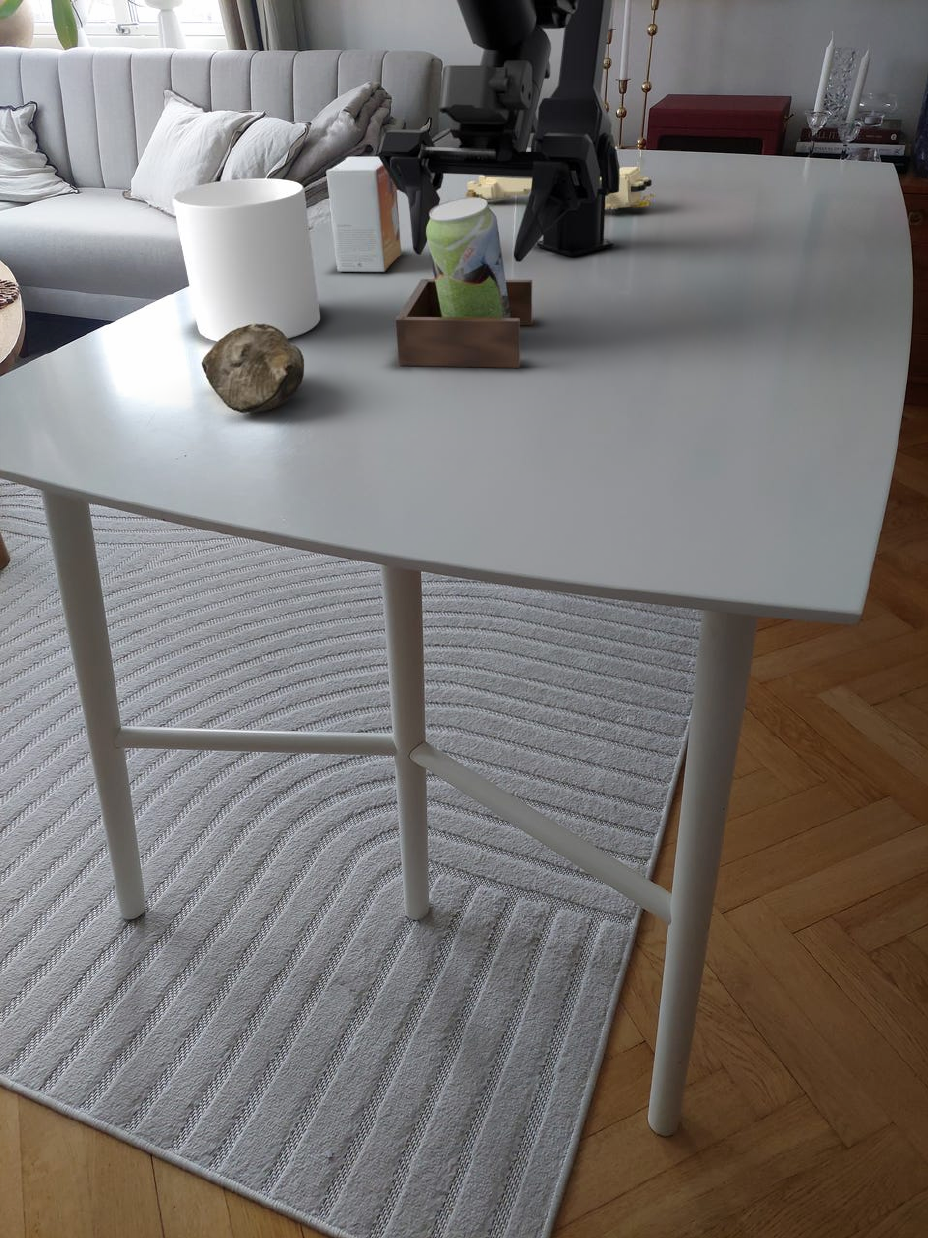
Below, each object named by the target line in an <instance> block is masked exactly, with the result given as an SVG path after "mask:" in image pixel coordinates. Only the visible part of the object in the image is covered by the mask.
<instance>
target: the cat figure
mask: <svg viewBox="0 0 928 1238" xmlns="http://www.w3.org/2000/svg"><path fill="white" fill-rule="evenodd" d="M619 172H620V182H619V192H617V193H610V194H609V195H608V196H606V201H605V210H618V209H619V208H629V207H632V208H644V207H648V206H649V205H650V200H651V199H652V197H655V196H656V193H654V192H653V193H649V195H644V196H642V194H643V191H645V190H647V188H648V187H652V183H653V182H652V179H650V177H649V176H643V175H642V172H643V171H642V170H641V169H639V167H638V166H625V167H624V166H623V167H620V169H619ZM600 180H602V179H601V177H600ZM531 186H532V179H529V178H504V177H485V176H483V175H479V176H478V182H477V180H470V181H468V182H466V187H467V192H466V193H465V195H466V197H465V198H468V197H476V198H482V199H484V200H491V199H492V200H493V199H494V200H495V199H507V198H509V197H511V196H512V197H513V196H515V197H516V196H517V197H519V196H528V195H530V192H531Z"/></svg>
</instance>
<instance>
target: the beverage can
mask: <svg viewBox="0 0 928 1238" xmlns="http://www.w3.org/2000/svg"><path fill="white" fill-rule="evenodd" d="M426 235H427V245H428V250H429V255H430V260H431V266H432V271H433V278H434V279H435V282H436V288H437V293H438V298H439V303H440V309H441V314H442V317H457V318H511V316H510V309H509V302H508V295H507V288H506V281H505V280H506V275H505V267H504V260H503V254H502V252H503V251H502V246H501V239H500V232H499V225H498V219H497V216H496V214H495V213H494V212H493V211H492V209H491V208H490V207H489V203H488V201H487V199H485V198H480V197H478V198H476V197H468V198H467V197H461V198H455V199H451V200H447V201H444V202H442V203H439V205H437V206H436V207H434V208H433V209H432V210H431V211H430V220H429V222H428V225H427V228H426Z"/></svg>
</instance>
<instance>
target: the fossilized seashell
mask: <svg viewBox="0 0 928 1238" xmlns="http://www.w3.org/2000/svg"><path fill="white" fill-rule="evenodd" d="M201 366H202V367H201V368H202V369H203V373H204V374H205V377H206V379H207V382H208V384H209V385H210V386H211V388H212V389H213V391H214V392H215V394H216V395H218V397H219V398H220V399H221V400H222V402H223V403H224V405H226V406H227V407H228V408H229V409H231V410H233V411H234V412H238V413H241V414H248V413H257V412H267V411H269V410H273V409H276V408H278V407H280V406H282V405H283V404H284V403H286V402H287V401H289V400H290V399H291V398H292V397H293V396H294V395H295V393H297V391H298V390H299V387H300V386H301V384H302V383H303V379H304V377H305V376H304V375H305V358H304V355H303V353H302V351H301V350H300V349H299V347H298V346H296V345H293V344H292V343H290V341H289V339H287V337H286V336H285V335H284V333H283V332H282V331H280V330H279V329H277V328H275V327H273V326H271V325H267V324H250V325H247V326H244V327H241V328H237V329H235V330H233V331H231V332H230V333H228V334H227V335H225V336H224V337H223V338H222V339H220V340H219V341H218V342H215V344H214V345H213V346H212V347H211V349H210V350H209V351H208V352H207V353H206V354H205V355H204V357H203V358H202V361H201Z"/></svg>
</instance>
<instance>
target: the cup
mask: <svg viewBox="0 0 928 1238" xmlns="http://www.w3.org/2000/svg"><path fill="white" fill-rule="evenodd" d="M172 204H173V209H174V210H173V211H174V214H175V221H176V226H177V229H178V230H177V231H178V235H179V240H180V244H181V250H182V255H183V259H184V265H185V270H186V275H187V280H188V285H189V290H190V294H191V301H192V305H193V310H194V314H195V315H194V316H195V320H196V323H197V329H198V332H199V333H200V335H201V336H203V337H204V338H206V339H208V340H210V341H213V342H215V343H217V342H218V341H219V340H220V339H222V338H223V337H224V336H225V335H227V334H228V333H230V332H231V331H233V330H235V329H237V328H241V327H244V326H247V325H250V324H267V325H271V326H273V327H275V328H277V329H279V330H280V331H282V332H283V333H284V335H285V336H286V337H287V339H288V340H289V339H293V338H295V337H298V336H302V335H303V334H305V333H307V332H310V331H311V330H313V329H314V328H315V327H316V326H317V325H318V324H319V323H320V320H321V314H320V312H321V311H320V304H319V297H318V289H317V288H318V287H317V281H316V272H315V264H314V256H313V249H312V248H313V247H312V241H311V240H312V239H311V232H310V225H309V224H310V223H309V216H308V208H307V201H306V193H305V187H304V186H303V184H301V183H299V182H296V181H293V180H288V179H283V178H282V179H281V178H260V177H259V178H258V177H257V178H238V179H228V180H221V181H214V182H208V183H202V184H198V185H194V186H191V187H187V188H185V189H183V190H180V191H179V192H177V193H175V194H174V196H173V199H172Z"/></svg>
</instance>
